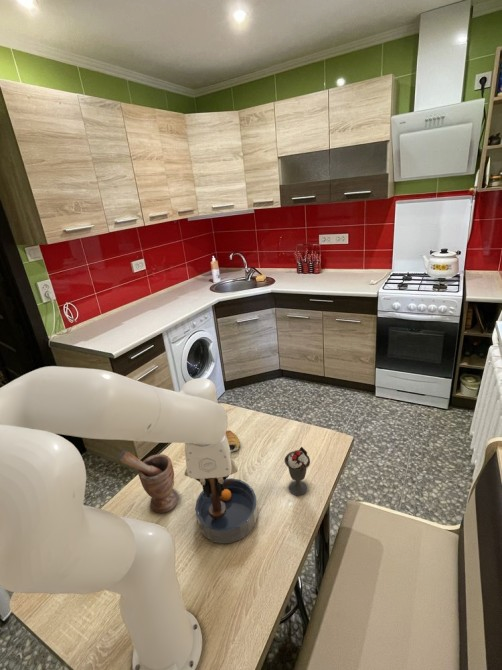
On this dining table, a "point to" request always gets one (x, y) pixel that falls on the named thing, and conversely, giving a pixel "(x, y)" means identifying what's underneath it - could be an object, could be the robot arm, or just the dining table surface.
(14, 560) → the robot arm
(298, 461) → the sundae
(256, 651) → the dining table surface
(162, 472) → the mortar and pestle
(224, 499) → the orange ball
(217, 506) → the brown flanged wooden cylinder
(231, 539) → the bowl
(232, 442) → the pastry
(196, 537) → the dining table surface
